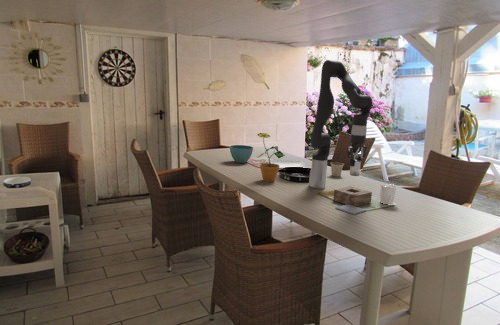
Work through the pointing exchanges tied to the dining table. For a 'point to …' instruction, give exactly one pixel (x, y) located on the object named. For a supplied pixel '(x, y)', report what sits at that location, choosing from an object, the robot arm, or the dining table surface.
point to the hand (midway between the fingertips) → (355, 165)
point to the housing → (352, 196)
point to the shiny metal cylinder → (355, 168)
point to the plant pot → (241, 153)
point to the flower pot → (336, 168)
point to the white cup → (387, 193)
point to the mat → (350, 209)
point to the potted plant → (269, 169)
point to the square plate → (288, 163)
